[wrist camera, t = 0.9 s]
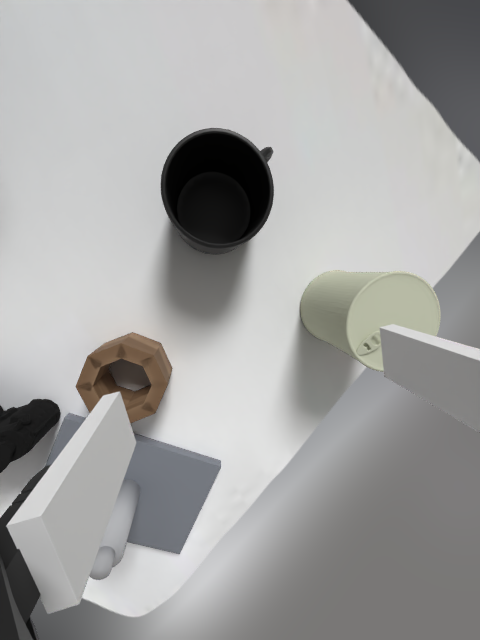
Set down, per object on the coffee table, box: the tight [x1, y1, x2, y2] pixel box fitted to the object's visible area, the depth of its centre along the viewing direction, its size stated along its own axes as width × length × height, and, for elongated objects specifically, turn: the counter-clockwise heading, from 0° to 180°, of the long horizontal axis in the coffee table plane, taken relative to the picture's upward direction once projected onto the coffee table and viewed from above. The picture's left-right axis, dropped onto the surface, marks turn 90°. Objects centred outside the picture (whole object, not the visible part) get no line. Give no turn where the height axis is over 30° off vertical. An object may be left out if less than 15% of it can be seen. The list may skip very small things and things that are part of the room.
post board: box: [45, 413, 221, 580], centre depth 31 cm, size 20×14×11 cm
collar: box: [76, 332, 172, 423], centre depth 31 cm, size 8×8×5 cm
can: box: [300, 270, 440, 372], centre depth 30 cm, size 9×9×12 cm
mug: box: [161, 128, 274, 254], centre depth 27 cm, size 9×12×9 cm
